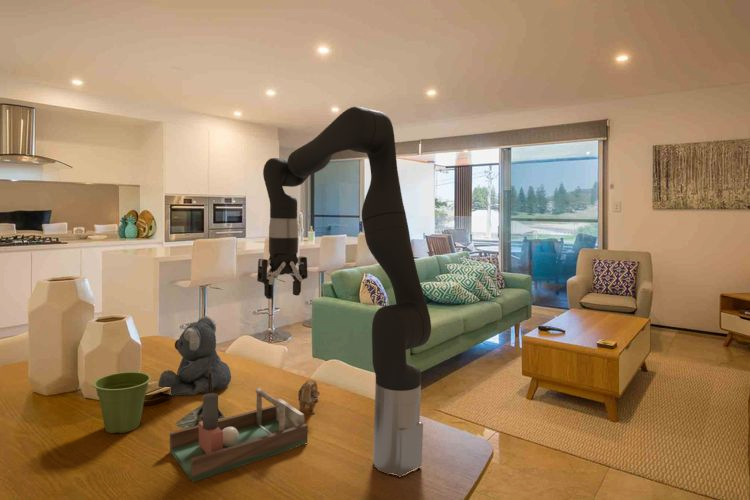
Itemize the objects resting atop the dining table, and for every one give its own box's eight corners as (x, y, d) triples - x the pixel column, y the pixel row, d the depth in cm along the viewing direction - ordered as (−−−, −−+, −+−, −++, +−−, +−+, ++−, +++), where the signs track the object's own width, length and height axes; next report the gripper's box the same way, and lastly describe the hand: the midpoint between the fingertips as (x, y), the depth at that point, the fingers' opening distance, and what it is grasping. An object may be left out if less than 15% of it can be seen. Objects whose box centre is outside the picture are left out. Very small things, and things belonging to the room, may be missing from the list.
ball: (242, 446, 102) (242, 428, 101) (223, 452, 99) (223, 433, 99) (234, 439, 105) (234, 421, 104) (216, 444, 102) (216, 426, 102)
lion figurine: (319, 420, 118) (320, 385, 117) (297, 421, 117) (298, 385, 116) (318, 397, 132) (319, 365, 132) (298, 398, 132) (299, 365, 131)
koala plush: (182, 375, 147) (181, 312, 145) (240, 377, 146) (240, 314, 145) (153, 397, 130) (153, 325, 128) (219, 400, 129) (219, 328, 127)
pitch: (307, 443, 106) (308, 400, 105) (192, 482, 90) (192, 431, 90) (276, 421, 117) (277, 381, 116) (169, 451, 101) (169, 406, 100)
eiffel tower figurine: (205, 403, 128) (205, 353, 127) (241, 407, 126) (241, 357, 125) (171, 428, 113) (171, 372, 112) (211, 432, 111) (211, 376, 110)
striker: (224, 454, 98) (224, 399, 97) (209, 459, 96) (209, 403, 95) (211, 441, 103) (211, 389, 102) (197, 445, 101) (197, 392, 100)
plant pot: (128, 442, 105) (127, 392, 104) (81, 435, 107) (80, 386, 106) (162, 419, 116) (161, 373, 115) (119, 413, 119) (118, 369, 118)
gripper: (268, 237, 119) (268, 302, 120) (313, 236, 129) (313, 295, 130) (252, 235, 124) (251, 297, 125) (297, 234, 134) (296, 292, 135)
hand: (283, 296), depth 128 cm, fingers open, 8 cm apart
